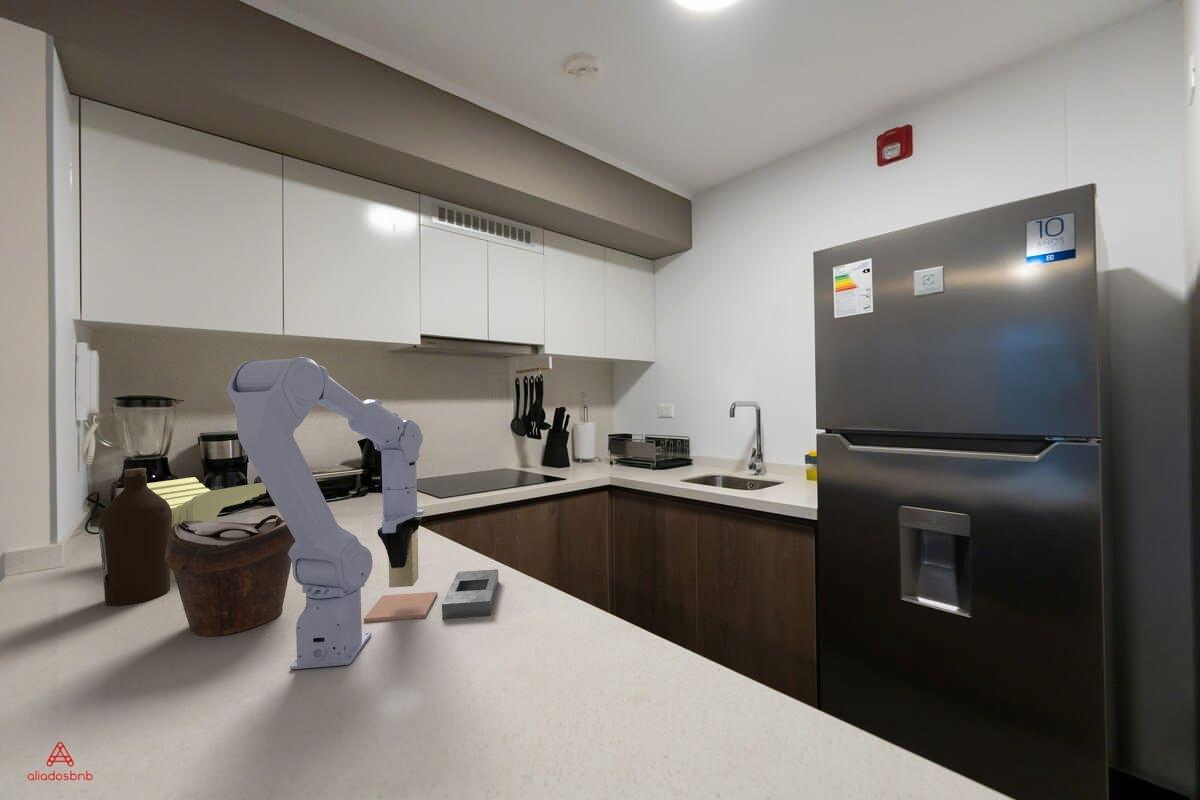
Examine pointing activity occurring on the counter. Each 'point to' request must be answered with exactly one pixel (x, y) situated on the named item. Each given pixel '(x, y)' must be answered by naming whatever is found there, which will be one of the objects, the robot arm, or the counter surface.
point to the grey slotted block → (471, 594)
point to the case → (230, 572)
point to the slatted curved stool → (201, 498)
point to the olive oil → (135, 542)
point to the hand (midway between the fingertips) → (401, 563)
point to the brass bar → (406, 566)
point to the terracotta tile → (401, 607)
